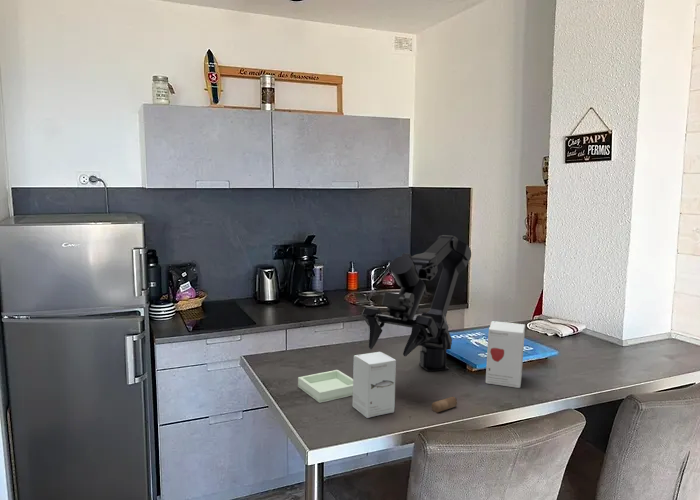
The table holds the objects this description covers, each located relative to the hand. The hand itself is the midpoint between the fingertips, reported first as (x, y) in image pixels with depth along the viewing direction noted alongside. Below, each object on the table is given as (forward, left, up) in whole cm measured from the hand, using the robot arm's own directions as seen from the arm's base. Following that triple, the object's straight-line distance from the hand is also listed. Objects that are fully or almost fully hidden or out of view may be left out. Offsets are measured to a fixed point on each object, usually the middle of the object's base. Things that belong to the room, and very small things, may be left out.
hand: (386, 351), depth 128 cm
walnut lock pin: (-11, +7, -12) cm, 18 cm away
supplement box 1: (+5, +4, -12) cm, 14 cm away
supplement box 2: (-35, -5, -12) cm, 38 cm away
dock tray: (+12, -10, -12) cm, 20 cm away
